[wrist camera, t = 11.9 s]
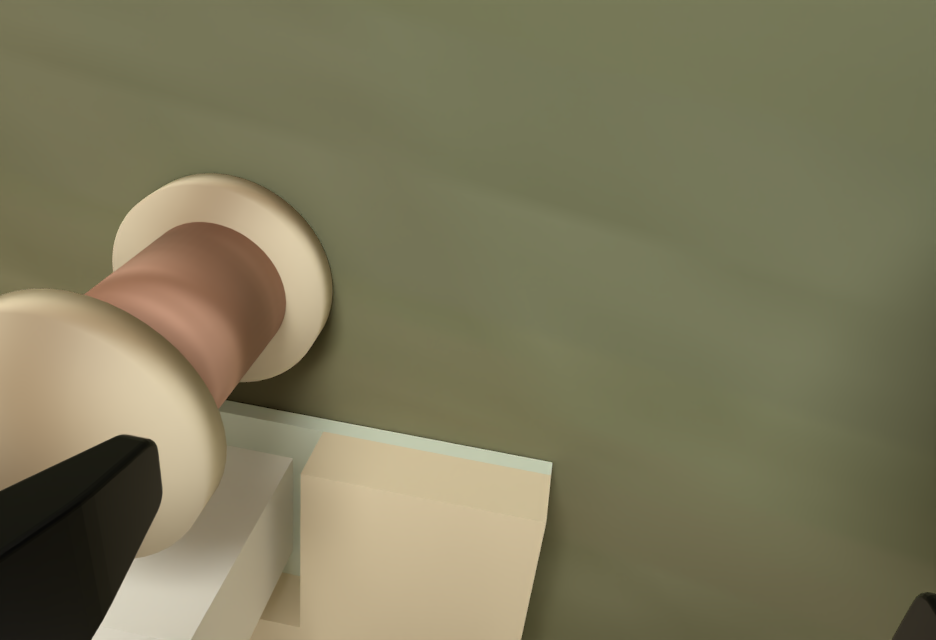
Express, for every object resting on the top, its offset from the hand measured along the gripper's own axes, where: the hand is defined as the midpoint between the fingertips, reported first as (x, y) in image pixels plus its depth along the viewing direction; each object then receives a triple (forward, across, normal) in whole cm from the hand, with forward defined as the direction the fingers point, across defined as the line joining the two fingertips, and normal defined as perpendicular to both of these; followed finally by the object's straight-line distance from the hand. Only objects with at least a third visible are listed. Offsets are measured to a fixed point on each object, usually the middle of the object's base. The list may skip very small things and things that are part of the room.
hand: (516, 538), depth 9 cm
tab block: (+11, +9, +12) cm, 19 cm away
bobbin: (+12, +9, +4) cm, 15 cm away
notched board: (+12, +9, +13) cm, 20 cm away
